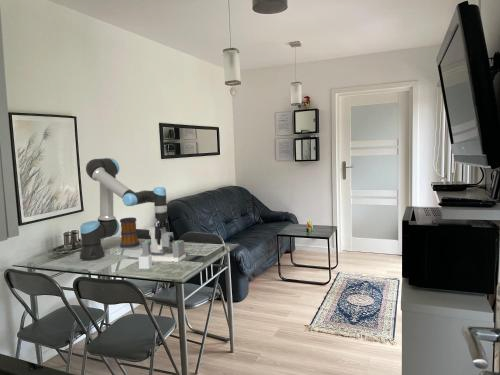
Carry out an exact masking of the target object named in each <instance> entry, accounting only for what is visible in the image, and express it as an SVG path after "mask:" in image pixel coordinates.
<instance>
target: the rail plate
mask: <svg viewBox="0 0 500 375" xmlns="http://www.w3.org/2000/svg"><path fill="white" fill-rule="evenodd" d="M141 244H142V245H141V246H142V254H150V255H152V262H154V261H155V262H172V261H174V262H175V263H178V261H179V262H180V261H182V260H183V259H185V258H186V256H187V253H186V252H185V240H183V239H182V240H180V239H178V240H176V241H174V243H172V245H171V246H172V252H163V253H154V252H151V250H150V245H151V238H149V239H146V240H144V241H143V242H141ZM151 249H152V248H151Z"/></svg>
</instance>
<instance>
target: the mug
mask: <svg viewBox="0 0 500 375" xmlns="http://www.w3.org/2000/svg"><path fill="white" fill-rule="evenodd" d="M119 224H120V228H121V232H120V235H121V237H120V238H121V242H120V243H119V244H120V245H119V248H121V249H132V248H137V247H139V245H141V242H140V241H139V237H138V230H137V217H130V216H129V217H124V218H120V220H119Z"/></svg>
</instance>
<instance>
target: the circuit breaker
mask: <svg viewBox="0 0 500 375" xmlns="http://www.w3.org/2000/svg"><path fill="white" fill-rule="evenodd" d="M160 230H161V239H162V250H158V243H157V239H155V226H152V227H151V228H149V231H148V232H149V236H150V240H151V245H150V250H151V252H154V253H165V252H166V251H167V250H168V249H169V247H171V246H172V243H174V242H175V241H174V240H175V237H174V232H173V231H172V232H171V231H170V232H166V229H165V227H163V229H160ZM151 248H152V249H151Z"/></svg>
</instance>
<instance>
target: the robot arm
mask: <svg viewBox="0 0 500 375" xmlns="http://www.w3.org/2000/svg"><path fill="white" fill-rule="evenodd" d="M85 172H86V174H87V176H88V177H89V178H90V179H92V180H93V181H96V182H98V183H99V216H98V217H97V220H91V221H85V222H83V223H82V224H81V225H80V239H81V250H80V253H79V260H80V259H82V260H81V261H95V260H94V259H96V260H99V258H100V259H102V257H103V258H104V257H105V256H106V254H105V251H104V248H103V246H102V242H101V241H102V239H103V240H104V239H107V238H111V237H113V236H115V235H117V234H118V232H119V230H120V222H119V221H118V220H117V219H116V217H115V215H114V194H115V195H116V196H118V198H121V199H122V203H123V205H125V206H126V207H134V206H137V205H143V204H147V203H153V204H154V218H155V219H156V220H157V221H156V222H155V223H154V227H155V239H157V243H158V250H162V239H161V230H160V229H163V227H165V229H166V232H171V231H170V223H169V222H170V221H169V219H168V212H167V211H168V206H167V190H166V188H165V187H164V186H163V187H162V186H161V187H159V186H158V187H154V188H153V190H144V189H143V190H140V191H138V192H135V191H133V190H132V189H131V188H129V187H128V186H127V185H125V184H124V183H123V182H121V181H119V180H118V179H117V177H116V175H118V174H119V172H120V165H119V162H118V161H117V160H116V159H114V158H111V157H110V158H109V157H105V158H93V159H91V160H89V161H88V162H87V164H86V166H85Z"/></svg>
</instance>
